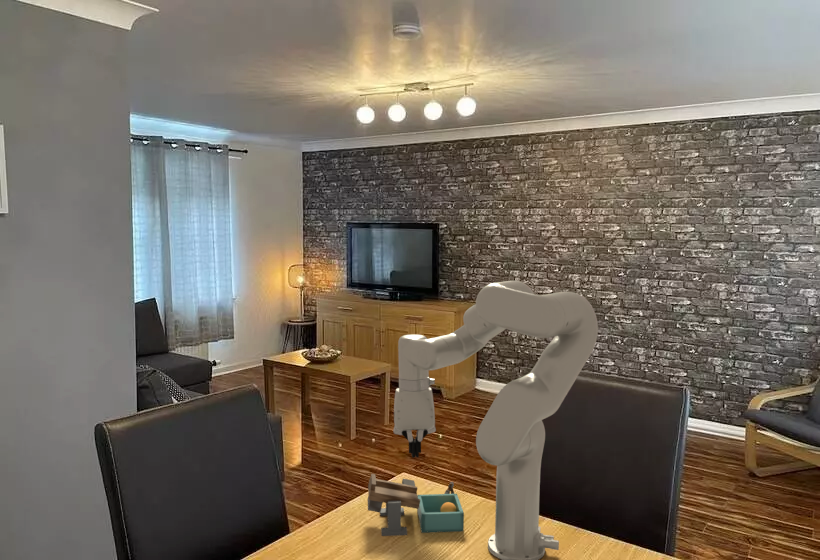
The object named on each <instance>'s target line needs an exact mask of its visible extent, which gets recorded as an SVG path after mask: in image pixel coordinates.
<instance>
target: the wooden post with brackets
mask: <svg viewBox="0 0 820 560" xmlns="http://www.w3.org/2000/svg"><path fill="white" fill-rule="evenodd" d="M454 487H455V485H454V482H453V481H451V482H449V484H448V487H447V489H445V491H444V493H443V494H455V491H454Z"/></svg>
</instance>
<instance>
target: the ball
mask: <svg viewBox="0 0 820 560" xmlns="http://www.w3.org/2000/svg"><path fill="white" fill-rule="evenodd" d="M440 511H441V512H457V509H456V506H455V505H454V504H453V503H451V502H446V503H444V504H443V505H442V506H441V510H440Z"/></svg>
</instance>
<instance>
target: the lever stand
mask: <svg viewBox="0 0 820 560" xmlns="http://www.w3.org/2000/svg"><path fill="white" fill-rule="evenodd" d="M404 509H405V508H404V507H402V506H401V501H388V503H385V508H384V507H381V512H379V516H380V517H383V516H385V517H387V527H381V528H380V531H381V532H380V533H381V536H382V537H390V536H392V537H393V536H408V529H407V526H402V524H401V523H402V519H401V518H402V516H405V510H404Z"/></svg>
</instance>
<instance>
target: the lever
mask: <svg viewBox="0 0 820 560" xmlns="http://www.w3.org/2000/svg"><path fill="white" fill-rule="evenodd" d="M367 487H368V489H367V490H368V493H367V494H368V496H367V511H371V512H375V513H380V512H381V508H383V503H385V504H386V503H388V501H401V507H406V508H412V509H416V510H417V509H418V508H419V504H420V499H418V496H417V495H418V486H416V483H415V480H413V479H408V478H402V480H401V483H399V482H394V481H389V480H384V479H378V478H376V473H371V474H370V478H369V481H368V486H367Z"/></svg>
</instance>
